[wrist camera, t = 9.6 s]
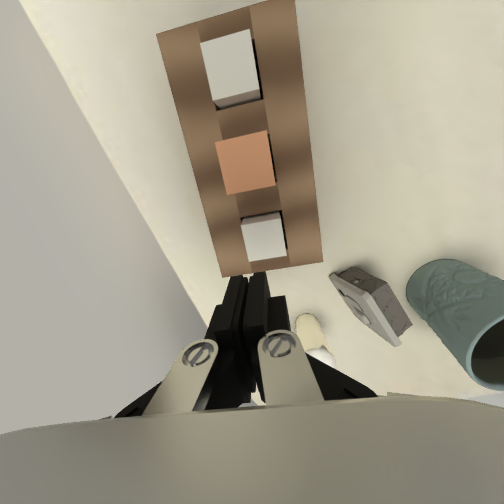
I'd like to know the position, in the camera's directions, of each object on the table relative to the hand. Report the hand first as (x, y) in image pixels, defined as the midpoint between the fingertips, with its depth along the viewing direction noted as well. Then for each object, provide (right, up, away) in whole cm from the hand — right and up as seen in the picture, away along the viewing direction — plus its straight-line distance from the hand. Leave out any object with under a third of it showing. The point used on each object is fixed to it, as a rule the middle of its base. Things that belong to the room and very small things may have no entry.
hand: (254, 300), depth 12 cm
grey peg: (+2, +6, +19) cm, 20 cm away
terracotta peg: (0, +11, +13) cm, 17 cm away
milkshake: (+8, -8, +25) cm, 28 cm away
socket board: (0, +13, +17) cm, 22 cm away
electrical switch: (+15, -3, +23) cm, 27 cm away
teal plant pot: (+26, -3, +22) cm, 34 cm away
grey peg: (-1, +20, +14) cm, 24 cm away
